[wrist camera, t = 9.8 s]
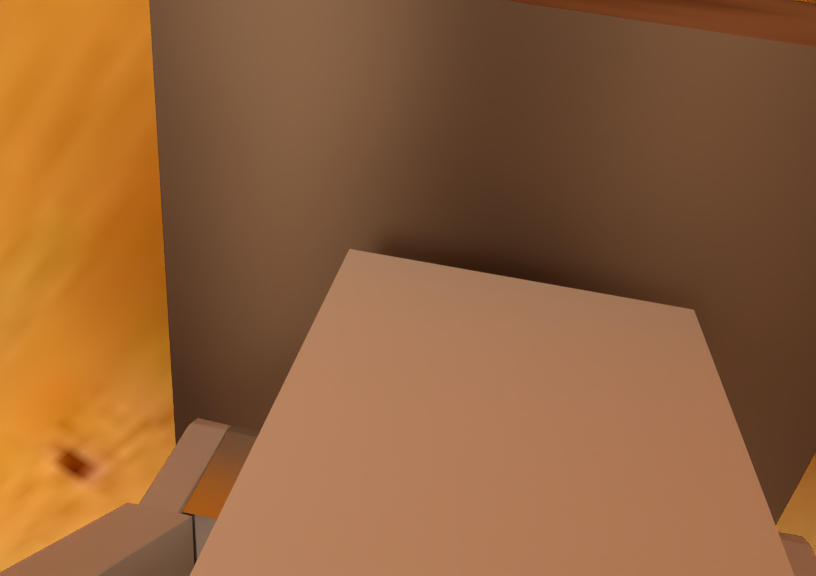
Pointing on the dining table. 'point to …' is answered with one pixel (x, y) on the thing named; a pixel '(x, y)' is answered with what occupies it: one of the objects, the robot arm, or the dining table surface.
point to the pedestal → (493, 177)
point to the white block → (495, 440)
